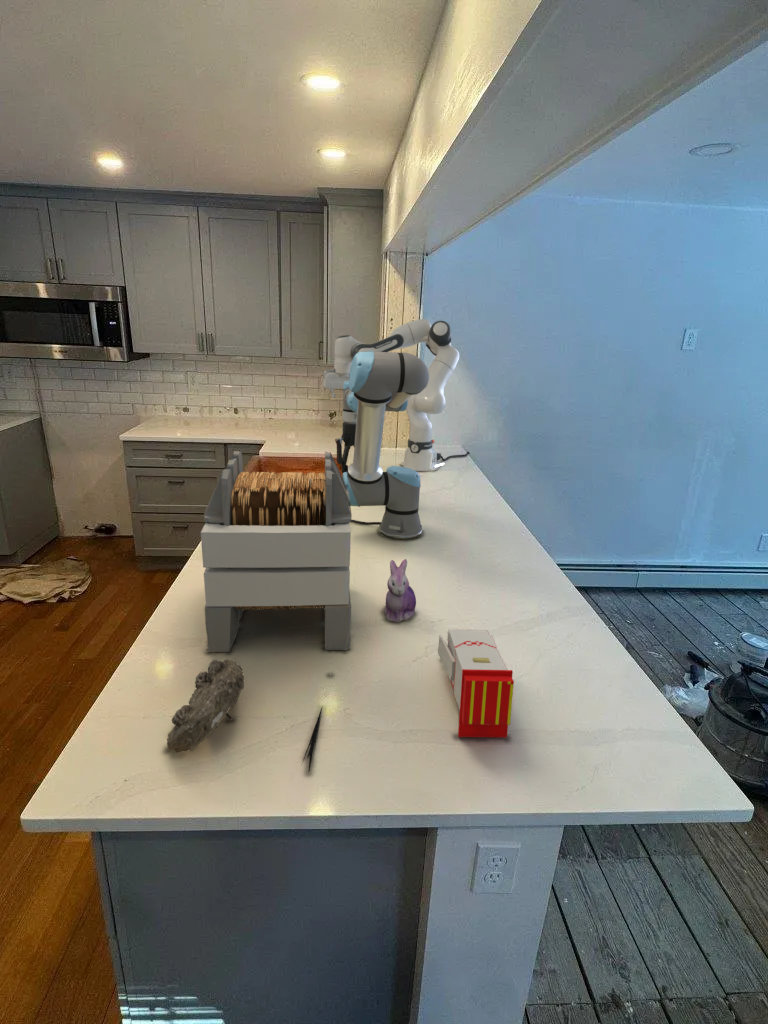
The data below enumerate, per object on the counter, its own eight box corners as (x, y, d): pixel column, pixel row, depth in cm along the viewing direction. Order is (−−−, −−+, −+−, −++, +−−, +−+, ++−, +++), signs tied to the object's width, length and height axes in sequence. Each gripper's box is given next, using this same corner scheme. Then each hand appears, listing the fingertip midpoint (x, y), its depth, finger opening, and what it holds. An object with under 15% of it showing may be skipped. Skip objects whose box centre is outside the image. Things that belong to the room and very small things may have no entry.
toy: (488, 613, 130) (523, 677, 101) (484, 667, 133) (517, 744, 104) (435, 612, 130) (455, 676, 101) (432, 666, 133) (451, 743, 103)
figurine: (392, 627, 141) (395, 572, 136) (374, 608, 149) (376, 556, 144) (425, 619, 145) (429, 566, 140) (405, 601, 154) (408, 550, 149)
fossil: (192, 660, 117) (244, 628, 112) (224, 691, 120) (276, 661, 115) (142, 746, 98) (202, 712, 93) (182, 779, 101) (242, 748, 96)
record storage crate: (227, 584, 158) (219, 441, 145) (344, 583, 162) (347, 443, 148) (205, 654, 127) (191, 480, 113) (351, 650, 130) (355, 481, 117)
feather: (331, 679, 122) (336, 673, 122) (307, 777, 96) (313, 769, 95) (324, 675, 122) (329, 669, 121) (298, 772, 95) (304, 764, 95)
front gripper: (335, 424, 211) (334, 484, 219) (376, 422, 219) (374, 481, 226) (328, 421, 218) (327, 479, 226) (368, 419, 225) (367, 476, 233)
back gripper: (325, 370, 275) (325, 398, 280) (364, 369, 283) (363, 397, 288) (321, 368, 280) (320, 396, 285) (359, 368, 289) (358, 395, 293)
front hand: (351, 480), depth 226 cm, fingers closed on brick, 4 cm apart
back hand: (342, 397), depth 287 cm, fingers open, 8 cm apart
